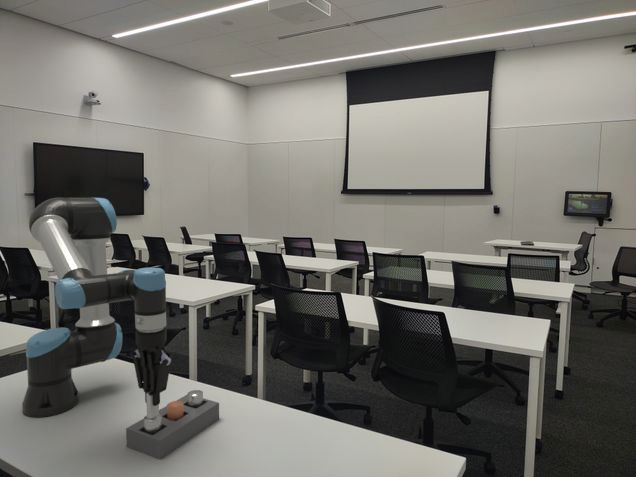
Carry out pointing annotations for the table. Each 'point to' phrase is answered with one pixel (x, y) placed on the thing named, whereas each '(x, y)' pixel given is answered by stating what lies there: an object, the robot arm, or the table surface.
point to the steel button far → (195, 398)
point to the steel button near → (152, 424)
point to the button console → (172, 429)
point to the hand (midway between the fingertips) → (152, 415)
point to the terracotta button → (175, 410)
